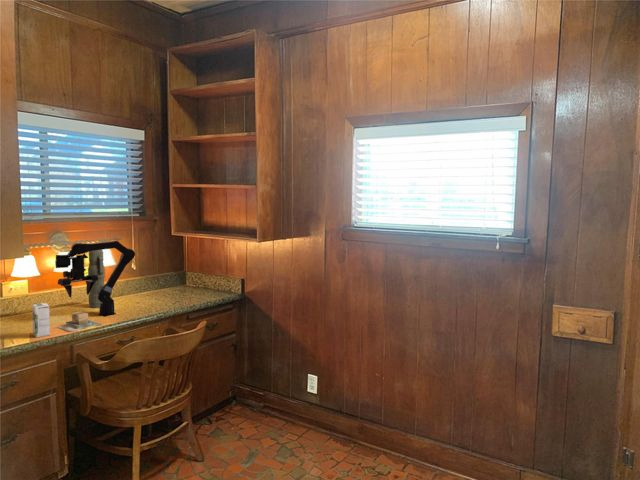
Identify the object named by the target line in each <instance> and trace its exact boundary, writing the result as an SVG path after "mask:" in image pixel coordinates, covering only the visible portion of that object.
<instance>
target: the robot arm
mask: <svg viewBox="0 0 640 480" xmlns="http://www.w3.org/2000/svg"><path fill="white" fill-rule="evenodd" d="M109 249H111V250H112V249H115V250H117V251H118V252H119V253H120V258H119V260H118V263H117V265H116V266H115V268H114V270H113V271H112V273H111V274H110V276H109V278H108V280H107V281H106V282H105V283H104V286H103V287H102V286H100V287H99V290H98V291H97V295H96V296H97V298H98V300H99V301H100V302H102V304H100V308H99V313H98V315H100V316H103V317H109V316H113V315H117V313H116V312H115V300H114V299H113V298H112V297H111V295H112V293H113V289H114V286H116V283H117V282H118V280H119V278H120V276H121V275H122V273H123V272H124V270H125V268H126V266H127V265H128V264H129V263H131V261H132V260H133V259H134V258H135V257H136V252H135V251H134V249H132V248H128V247H126V246H125V245H123V244H122V243H120V242H119V241H118V240H113V241H112V240H111V241H104V242H96V243H95V242H94V243H85V242H75V243H73V244H72V245H71V247H70V250H69V251H68V253H67V254H55V261H54V262H55V268H56V269H64V268H69V267H70V266H71V268H70V271H68V270H64V271H63V272H62V278H59V279H58V280H57V285H60V286H61V287H64V290H65V291H66V293H67V295H68V298H72V294H73V293H72V292H73V289H72V288H73V285H72V284H71V283H79V282H85V284H86V295H89V294H90V290H91V288H92V286H93V285H94V283H95V282H96V281H98V276H97V275H88V274H87V275H85V271H87V269H86V268H85V259H89V255H87V254H86V253H89V252H90V251H94V250H102V251H104V250H109Z"/></svg>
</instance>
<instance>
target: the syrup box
mask: <svg viewBox="0 0 640 480" xmlns="http://www.w3.org/2000/svg"><path fill="white" fill-rule="evenodd" d="M50 331H51V330H50V305H49V304H48V303H46V302H42V303H35V304H32V334H33V336H34V337H35V338H36V337H37V338H40V337H42V338H43V337H47V336H50V334H51V333H50Z"/></svg>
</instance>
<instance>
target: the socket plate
mask: <svg viewBox="0 0 640 480" xmlns="http://www.w3.org/2000/svg"><path fill="white" fill-rule="evenodd" d="M102 325H103V323H101V322H98V321H96V320H92V319H88V323H86V324H81V325H77V324H74V323H72V320H69V321H65V324H63V325H58V326H57V328H58V329H61V330H63V331H65V332H68V333H71V332H76V331H81V330H85V329H89V328H95V327H98V326H102Z"/></svg>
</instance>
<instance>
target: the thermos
mask: <svg viewBox="0 0 640 480" xmlns="http://www.w3.org/2000/svg"><path fill="white" fill-rule="evenodd" d="M88 262H89V263H88V268H87V275H97V276H98V281H96V282H95V283H94V285H93V286H92V288H91V290H90V292H89V294H88V307H89V308H90V309H100V304H102V302H100V301H99V300H98V298H97V296H96V295H97V291H98V290H99V287H100V286H102V287H103V286H104V285H105V277H106V268H105V265H104V250H94V251H90V252H88Z"/></svg>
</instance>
